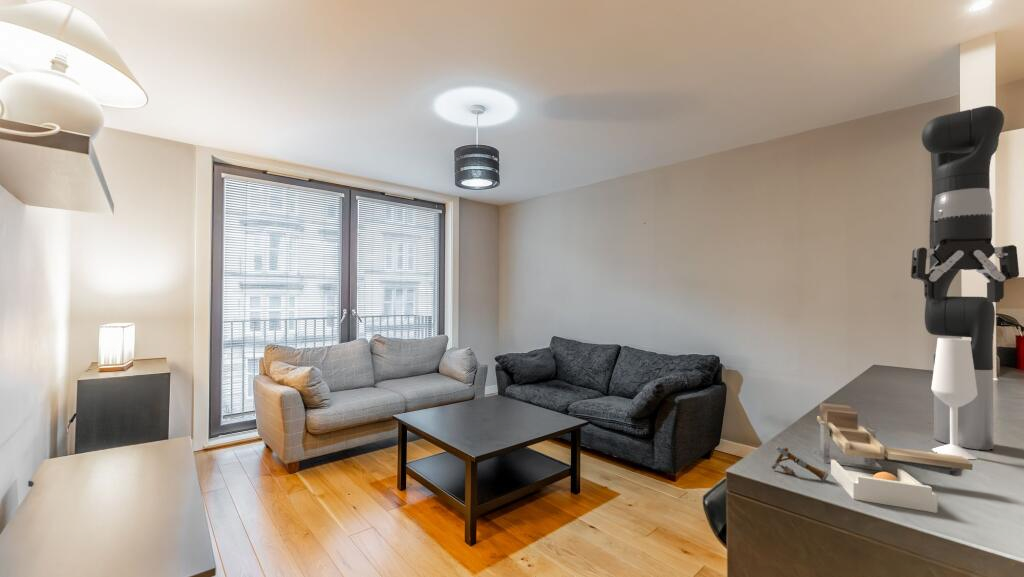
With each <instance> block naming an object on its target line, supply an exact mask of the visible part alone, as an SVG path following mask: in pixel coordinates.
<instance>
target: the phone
mask: <svg viewBox="0 0 1024 577" xmlns="http://www.w3.org/2000/svg"><path fill="white" fill-rule="evenodd" d="M883 446H884V447H886V446H885V445H883ZM883 460H884V461H888V462H892V463H897V464H901V465H905V466H910V467H913V468H917V469H922V470H926V471H927V470H928V471H931V472H935V473H939V474H943V475H947V476H948V475H949V476H955V475H956V473H957V471H958V468H952V467H945V466H937V465H930V464H922V463H915V462H907V461H900V460H892V459H887V458H886V457H885V456H884V459H882V461H883Z"/></svg>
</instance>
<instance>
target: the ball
mask: <svg viewBox="0 0 1024 577" xmlns="http://www.w3.org/2000/svg"><path fill="white" fill-rule="evenodd" d="M873 478H879V479H885V480H892V481H899V479H898V478H897V476H895V475H894V474H893V473H890V472H887V471H879V472H877V473H875V474H874V476H873ZM899 482H900V481H899Z"/></svg>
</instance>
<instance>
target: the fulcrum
mask: <svg viewBox="0 0 1024 577" xmlns="http://www.w3.org/2000/svg"><path fill="white" fill-rule="evenodd" d="M819 425H820V426H819V428H820V431H819V432H820V433H819V439H820V440H819V444H820V445H819V449H814V453H815V455H817V456H818V458H819V459H820V460H821V461H822V462H823V463H826V464H831V460H835V461H836V462H837V463H838V464H839V465H840V466H847V467H853V468H860V469H867V470H876V471H879V472H884V471H883V470H884V467H883V466H881V465H880V464H879V463H878V462H877V460H876V458H869V457H861V456H854V455H846V454H844V453H843V452H835V451H830V439H831V437H830V426H828V425H827V424H826V423H819ZM864 428H865V429H866V430H867V431H868V432H869V433H870V434H871V435H872V436H873V437H874V438H875V439H876V436H877V434H876V432H877V431H875V430H873V429H872V428H870V427H864ZM876 440H877V439H876Z"/></svg>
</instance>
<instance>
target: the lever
mask: <svg viewBox="0 0 1024 577" xmlns="http://www.w3.org/2000/svg"><path fill="white" fill-rule="evenodd" d="M858 417H859V416H858V412H856V411H855V410H854V409H853V408H852V407H851V406H849V405H844V404H842V405H841V404H832V403H824V402H822V403H821V402H819V415H817V416H816V421H817V422H818V423H819V424H820V423H826V424H827V425H828V426H830V439H831V440H833V441H834V443H835V444H836V445H837V447H839V449H840V450H841V451H842V453H844V454H846V455H854V456H861V457H869V458H876V459H878V460H883V459H884V456H885V457H886V458H887V459H892V460H900V461H907V462H915V463H922V464H930V465H937V466H945V467H952V468H957V469H962V470H967V471H973V467H974V465H973V463H971V462H970V461H969V460H968V459H965V458H963V457H962V456H955V455H947V454H939V453H936V452H931V451H929V452H928V451H924V450H923V451H921V450H913V449H907V448H906V449H905V448H898V447H890V446H885V445H883V444H882V443H881V442H879V440H878V439H875V438H874V437H873V436H872V435H871V434H870V433H869V432H868V431H867V430H866V429H865V428H866V427H864V426H863V425H858V420H859V419H858ZM884 446H885V447H884Z"/></svg>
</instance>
